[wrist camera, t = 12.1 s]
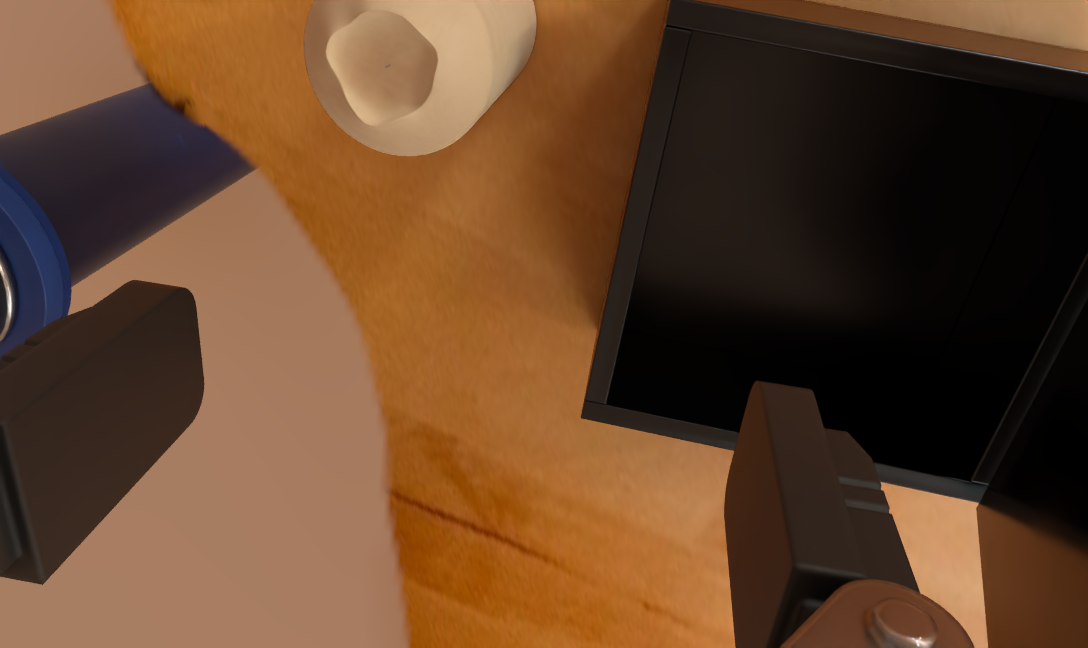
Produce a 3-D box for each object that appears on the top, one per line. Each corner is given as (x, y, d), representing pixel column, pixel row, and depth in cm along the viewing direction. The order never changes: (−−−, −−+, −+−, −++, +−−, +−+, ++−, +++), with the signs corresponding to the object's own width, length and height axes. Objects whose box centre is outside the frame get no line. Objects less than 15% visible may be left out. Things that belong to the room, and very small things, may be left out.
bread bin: (596, 332, 36) (580, 418, 30) (672, -24, 29) (670, -4, 23) (931, 401, 35) (983, 504, 29) (1091, 51, 28) (1203, 93, 22)
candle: (505, 120, 32) (439, 203, 23) (376, 58, 32) (260, 119, 23) (562, -18, 30) (512, 17, 21) (422, -87, 29) (312, -81, 20)
